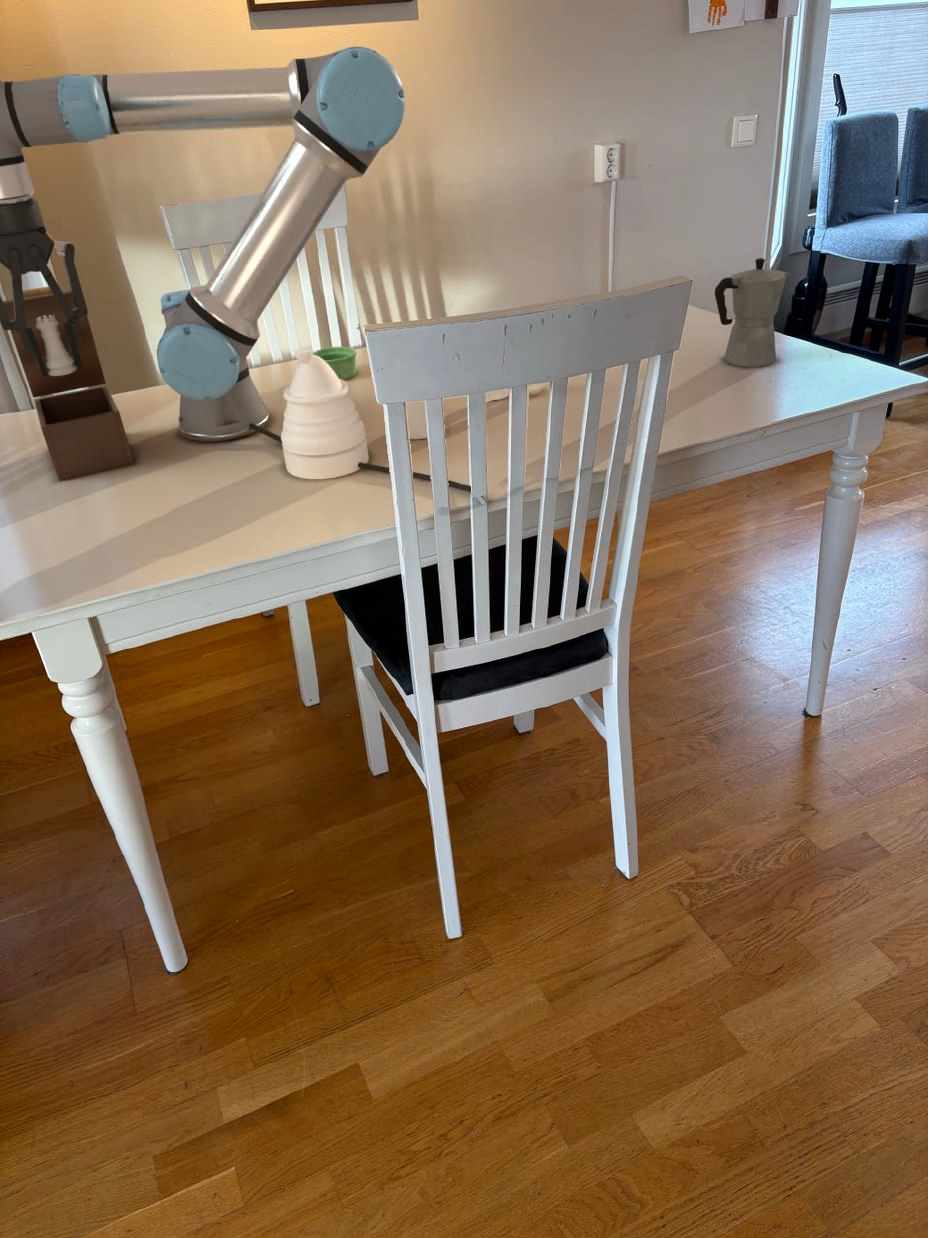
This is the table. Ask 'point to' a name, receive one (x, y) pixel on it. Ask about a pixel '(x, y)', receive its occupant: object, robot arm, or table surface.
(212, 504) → the table surface
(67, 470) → the box
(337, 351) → the ramekin
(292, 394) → the honey pot
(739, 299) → the coffeepot
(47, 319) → the rook chess piece
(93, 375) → the box lid
